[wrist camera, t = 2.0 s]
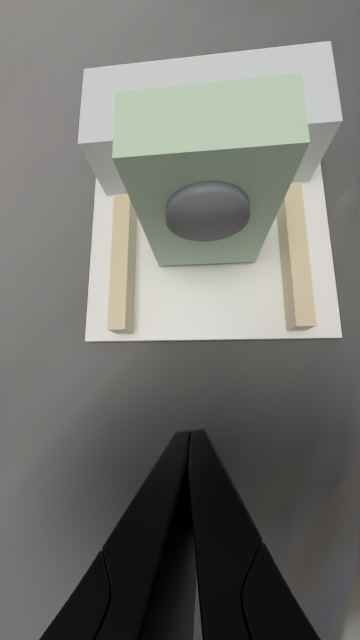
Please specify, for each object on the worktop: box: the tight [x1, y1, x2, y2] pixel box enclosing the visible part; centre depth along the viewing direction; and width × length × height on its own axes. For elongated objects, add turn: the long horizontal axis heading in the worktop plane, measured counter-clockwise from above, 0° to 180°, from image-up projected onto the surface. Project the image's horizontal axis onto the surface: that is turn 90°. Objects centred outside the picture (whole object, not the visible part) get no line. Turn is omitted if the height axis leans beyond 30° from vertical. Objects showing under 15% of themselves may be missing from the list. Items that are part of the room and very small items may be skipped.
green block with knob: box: [112, 73, 310, 266], centre depth 14 cm, size 4×7×10 cm, turn 90°
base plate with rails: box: [78, 41, 343, 342], centre depth 18 cm, size 18×18×6 cm
